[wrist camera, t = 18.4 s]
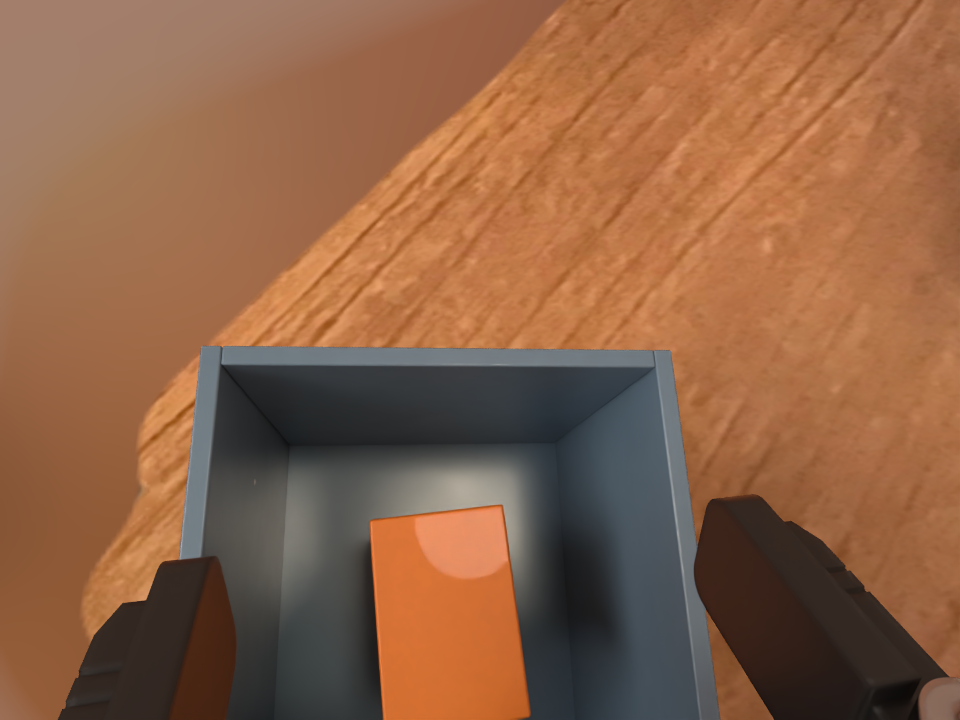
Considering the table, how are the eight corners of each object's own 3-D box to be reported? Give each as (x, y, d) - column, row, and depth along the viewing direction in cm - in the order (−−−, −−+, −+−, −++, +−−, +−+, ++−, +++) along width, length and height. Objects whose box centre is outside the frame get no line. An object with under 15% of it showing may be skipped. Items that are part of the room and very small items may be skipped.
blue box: (588, 774, 24) (752, 949, 13) (256, 803, 22) (128, 1030, 11) (562, 433, 28) (671, 349, 17) (279, 436, 26) (200, 345, 15)
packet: (482, 664, 24) (532, 718, 16) (387, 679, 23) (384, 744, 15) (466, 524, 26) (503, 503, 17) (376, 535, 25) (368, 519, 16)
